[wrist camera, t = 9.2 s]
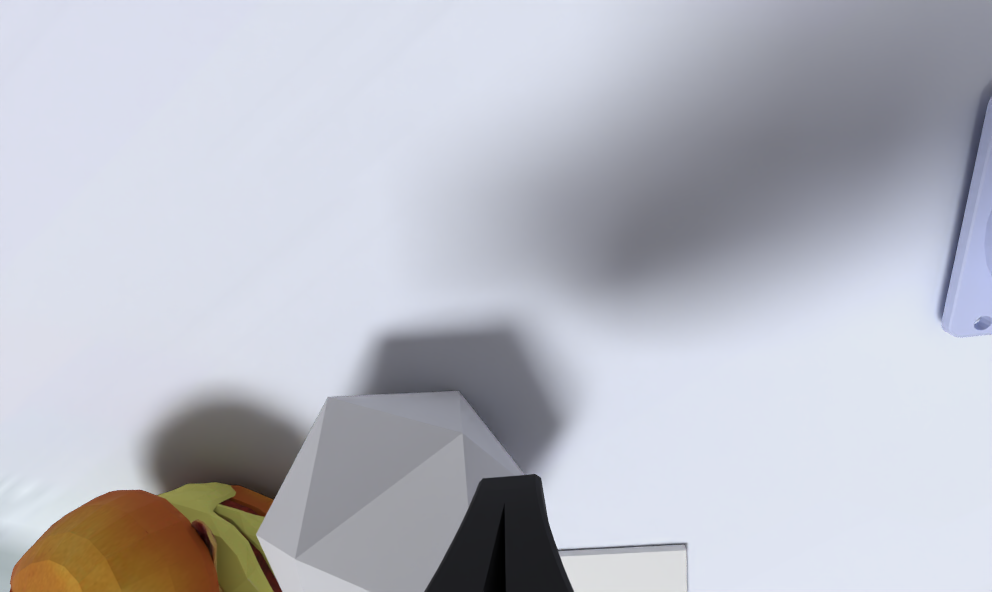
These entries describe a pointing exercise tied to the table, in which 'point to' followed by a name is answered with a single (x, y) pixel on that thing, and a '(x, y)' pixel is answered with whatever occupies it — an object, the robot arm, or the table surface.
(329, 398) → the die
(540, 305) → the table surface
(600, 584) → the mat
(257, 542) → the cheeseburger
